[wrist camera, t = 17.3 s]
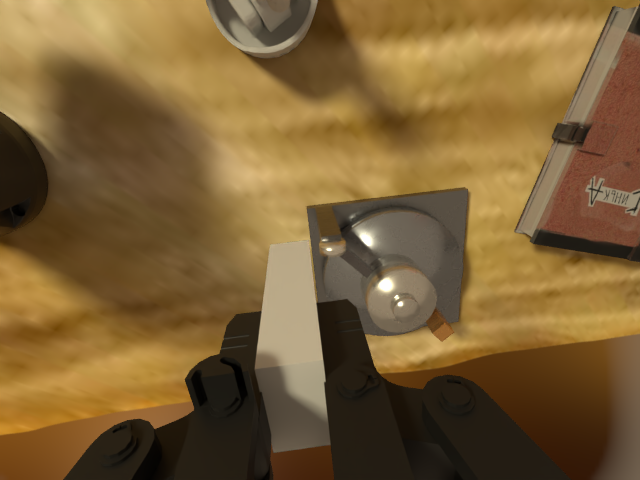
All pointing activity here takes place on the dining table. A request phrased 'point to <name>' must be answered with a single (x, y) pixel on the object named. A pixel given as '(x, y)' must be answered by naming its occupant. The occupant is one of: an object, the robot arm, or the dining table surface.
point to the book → (595, 155)
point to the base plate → (438, 204)
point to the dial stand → (336, 241)
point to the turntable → (404, 239)
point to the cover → (398, 294)
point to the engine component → (263, 24)
